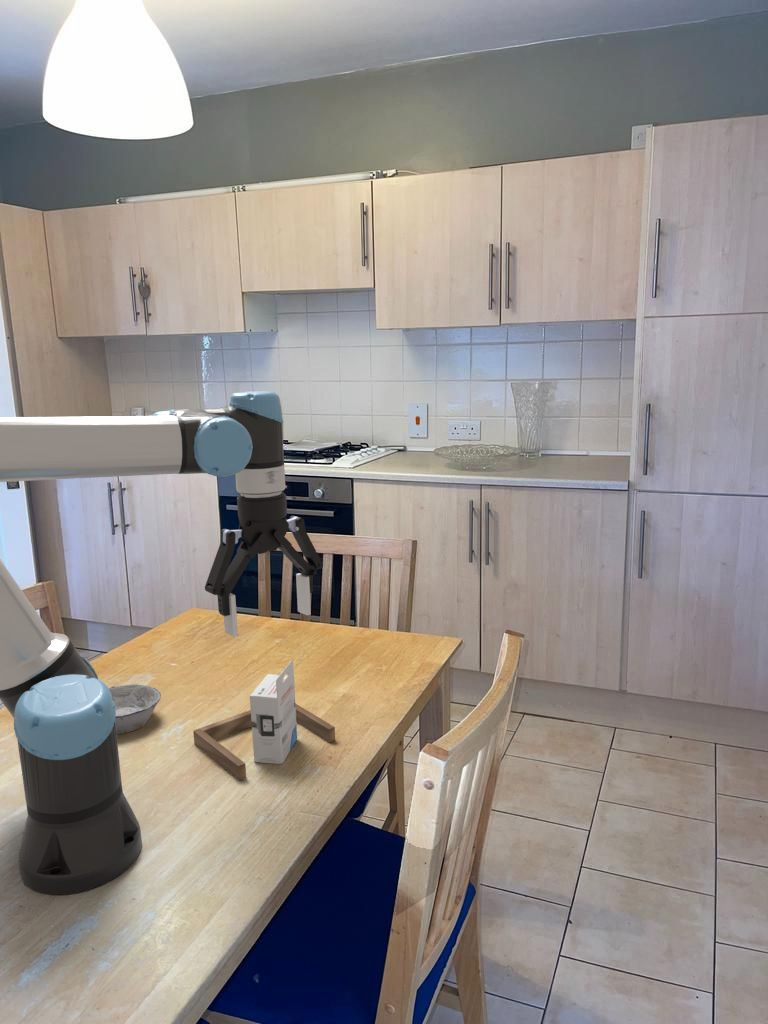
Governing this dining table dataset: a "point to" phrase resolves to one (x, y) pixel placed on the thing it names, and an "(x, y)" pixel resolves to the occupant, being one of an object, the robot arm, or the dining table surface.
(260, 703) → the ink box
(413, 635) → the dining table surface
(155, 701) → the bowl
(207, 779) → the dining table surface
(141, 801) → the dining table surface
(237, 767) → the wooden u-shaped frame
